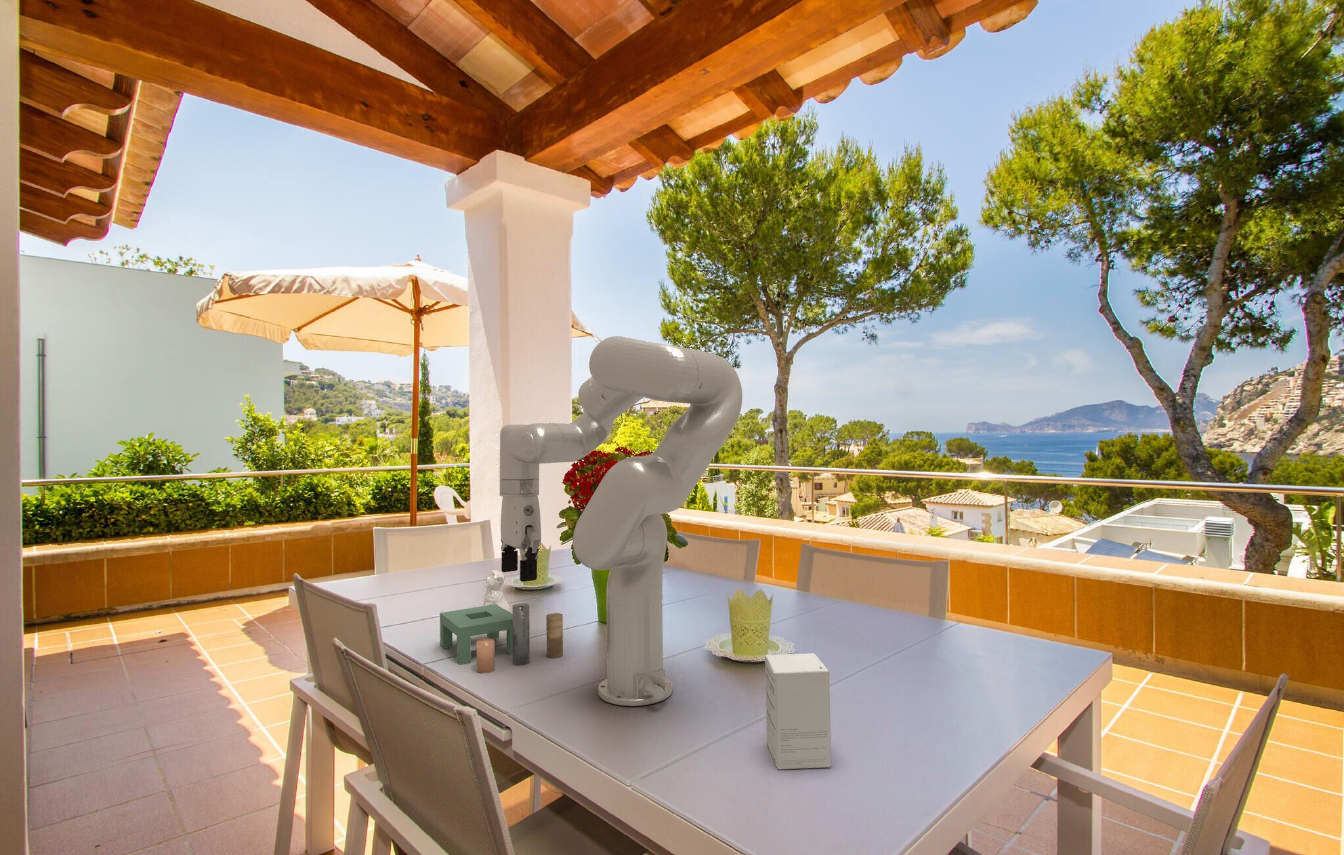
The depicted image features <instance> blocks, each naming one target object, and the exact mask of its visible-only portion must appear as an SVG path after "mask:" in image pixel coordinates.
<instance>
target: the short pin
mask: <svg viewBox="0 0 1344 855" xmlns="http://www.w3.org/2000/svg"><path fill="white" fill-rule="evenodd" d="M495 654H496V652H495V639H492V638H487V637H484V638H481V639H478V640H477V641H476V672H477V673H479V674H490V673H492V672H494V671H495V670H496V669H495V667H496V666H495V662H496V660H495V658H496V657H495Z"/></svg>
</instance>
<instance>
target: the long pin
mask: <svg viewBox="0 0 1344 855" xmlns="http://www.w3.org/2000/svg"><path fill="white" fill-rule="evenodd" d="M511 608H512V614H513V654H512V664H513V665H514V666H527V665H528V664H530V663H531V659H530V658H531V651H530V650H531V648H530V646H531V641H530V640H531V638H530V637H531V636H530V635H531V634H530V628H531V627H530V616H531V615H530V604H529V603H516V604H512V607H511Z"/></svg>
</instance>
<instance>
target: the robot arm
mask: <svg viewBox="0 0 1344 855" xmlns="http://www.w3.org/2000/svg"><path fill="white" fill-rule="evenodd" d="M589 356H590V357H589V364H588V366H589V367H588V368H589V372H590V377H589V378H588V379H587V380H586V381H584V382H583V383H582V384H581V385H580V387H579V389H578V401H579V403H580V406H581V407H582V409H583V411H584V412H583V413H582V414H581V415H579V417H577V418H576V419H574V420H573V421H571V422H570V423H553V422H552V423H551V422H549V423H544V422H543V423H542V422H541V423H530V424H506V425H504V426H502V427H501V429H500V433H499V497H501V498H502V500H501V510H500V541H501V548H500V551H501V570H500V572H501V573H511V572H517V571H518V570H519V581H520V582H521V583H522V582H523V583H525V582H532V581H536V580H537V579H538V558H539V555H538V554H539V552H540V549H539V547H540V546H541V544H542V525H541V524H542V522H541V520H542V519H541V508H540V502H539V495H540V465H543V464H544V465H545V464H554V463H555V464H557V463H560V464H561V463H574V462H576V461H577V462H578V461H579V460H581V459H583V458H585V457H586V456H588V455H589V454H590V453H592V452H593V451H595V450H596V449H597V448H599V447H600V446H601V445H603V443H604V442H605V441H606V440H607V439H608V437H609V436H610V434H611V431H612V429H613V425H614V422H615V420H616V419H618V418H619V417H621V415H623V414H624V413H625V412H627V411H628V410H629V409H630V408H632V407H633V406H635V404H637V403H638V402H640V401H641V400H642V399H643V398H646V399H650V400H654V401H659V402H665V403H675V404H676V403H677V404H688V405H689V406H688V409H686V411H685V412H684V413H682V415H680V416H679V417H678V418H677V419H676V420H675V421H674V422H673V423H672V425H671V426H670V427H669V429H668V430H667V431H666V434H665V436H664V437H663V438H662V439H661V442H660V443H659V444H658V446H657V448H655V450H654V451H653V452H652V453H650V454H648V455H639V456H631V457H626V458H624V459H621V460H619V461H618V462H616V463H615V464H614V465H612V467H610V469H608V471H607V472H606V473H605V474H604V475H603V477H602V479H601V481H600V483H599V484H598V486H597V487H596V489H595V491H594V493H593V494H592V496H591V497H590V500H588V503H587V504H586V506H585V508H584V510H583V511H582V512H581V514H580V517H579V518H578V520H577V522H576V524H575V527H574V531H573V535H572V546H573V552H574V554H575V557H576V559H577V560H578V561H579V563H581V564H582V565H583V566H584V567H586V568H589V569H591V570H595V571H605V570H609V573H608V577H607V582H606V603H605V606H606V678H605V679H603V680H602V681H601V682H599V684H598V686H597V694H598V696H599V698H601V699H602V700H603V701H605V702H606V703H610V704H614V705H618V706H627V707H628V706H629V707H636V706H637V707H639V706H640V707H641V706H647V705H648V706H649V705H652V704H656V703H659V702H662V701H664V700H666V699H667V698H669V697H670V696H671V695H672V693H673V683H672V681H671V680H670V679H669V678H667V677H666V670H665V669H664V651H663V650H664V638H663V637H664V632H663V631H664V629H663V628H664V626H663V625H664V624H663V597H664V596H663V578H664V577H663V574H664V565H665V564H664V562H665V558H666V551H667V544H668V529H667V523H666V521H665V519H664V517H663V516H662V515H663V514H668V513H671V512H674V511H676V510H678V509H680V508H681V507H682V506H683V505H684V504H685V502H686V501H687V499H688V498H689V497H690V495H691V493H692V491H694V488H695V487H696V485H697V484H698V482H699V481H700V479H701V478H702V476H703V475H704V474H705V472H706V470H707V469H708V467H709V466H710V464H711V462H712V461H713V459H714V458H715V456H716V454H717V453H718V451H719V450H720V449H721V447H722V446H723V444H724V443H725V441H726V440H727V438H728V437H729V435H730V434H731V432H732V430H733V429H734V427H735V426H736V424H737V421H738V419H739V418H740V414H741V409H742V406H743V388H742V382H741V380H740V377H739V374H738V373H737V370H735V368H734V367H733V365H732V364H731V363H730V362H729V361H728V360H727V359H725V358H723V357H722V356H719V355H717V354H714V353H713V352H712V353H711V352H708V351H702V350H698V349H694V348H693V349H692V348H687V347H681V346H676V345H672V344H671V345H670V344H665V343H664V344H663V343H658V342H652V341H651V342H650V341H646V340H641V339H636V338H630V337H626V336H619V335H614V336H609V337H606V338H604V339H603V340H601V341H600V342H599V343H598V344H597V345H596V346H595V347H594V348H593V350H592V351H591V354H590V355H589ZM517 549H518V550H517ZM519 553H520V556H521V559H520V560H518V559H519V557H518V556H519ZM518 563H519V564H518ZM518 565H519V566H518ZM518 567H519V568H518Z"/></svg>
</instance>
